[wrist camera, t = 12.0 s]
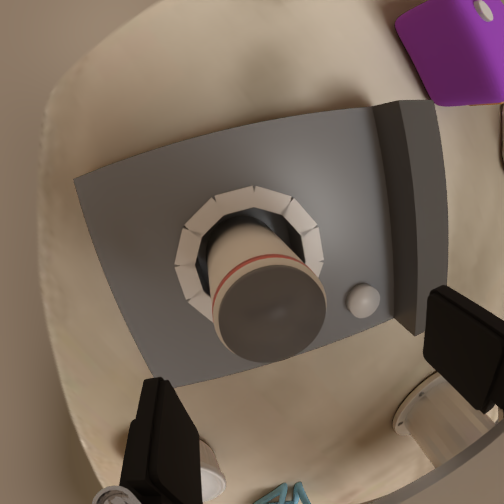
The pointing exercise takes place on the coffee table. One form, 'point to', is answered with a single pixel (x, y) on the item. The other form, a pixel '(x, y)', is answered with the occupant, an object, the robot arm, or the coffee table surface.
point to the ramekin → (210, 474)
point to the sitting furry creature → (503, 133)
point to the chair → (282, 492)
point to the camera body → (275, 225)
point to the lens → (261, 292)
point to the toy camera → (457, 49)
